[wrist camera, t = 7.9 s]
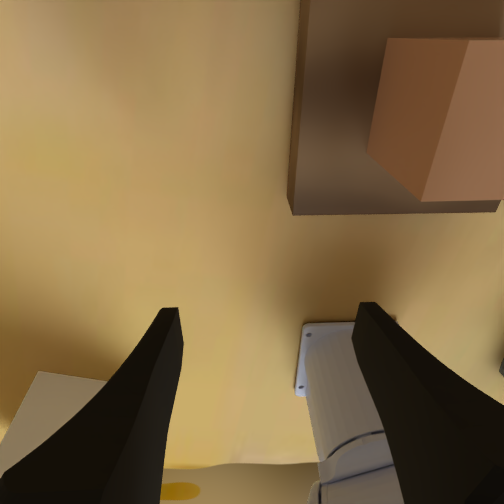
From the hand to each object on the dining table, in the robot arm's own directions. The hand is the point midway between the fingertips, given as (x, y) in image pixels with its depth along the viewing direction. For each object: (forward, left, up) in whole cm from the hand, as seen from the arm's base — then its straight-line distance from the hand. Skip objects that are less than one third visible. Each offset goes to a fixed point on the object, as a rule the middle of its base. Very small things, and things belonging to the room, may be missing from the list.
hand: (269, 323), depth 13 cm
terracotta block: (+7, -8, -7) cm, 13 cm away
